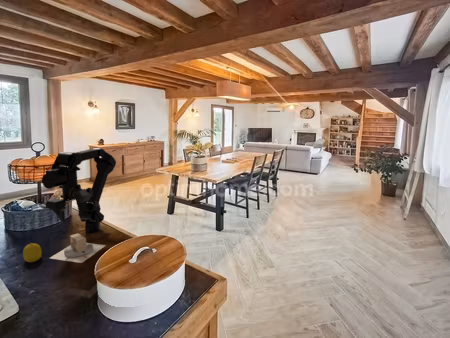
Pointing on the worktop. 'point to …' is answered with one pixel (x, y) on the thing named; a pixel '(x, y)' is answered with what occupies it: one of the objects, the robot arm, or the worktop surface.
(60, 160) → the robot arm
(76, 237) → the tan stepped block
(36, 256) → the lemon
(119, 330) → the worktop surface
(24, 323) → the worktop surface
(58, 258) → the dial plate
